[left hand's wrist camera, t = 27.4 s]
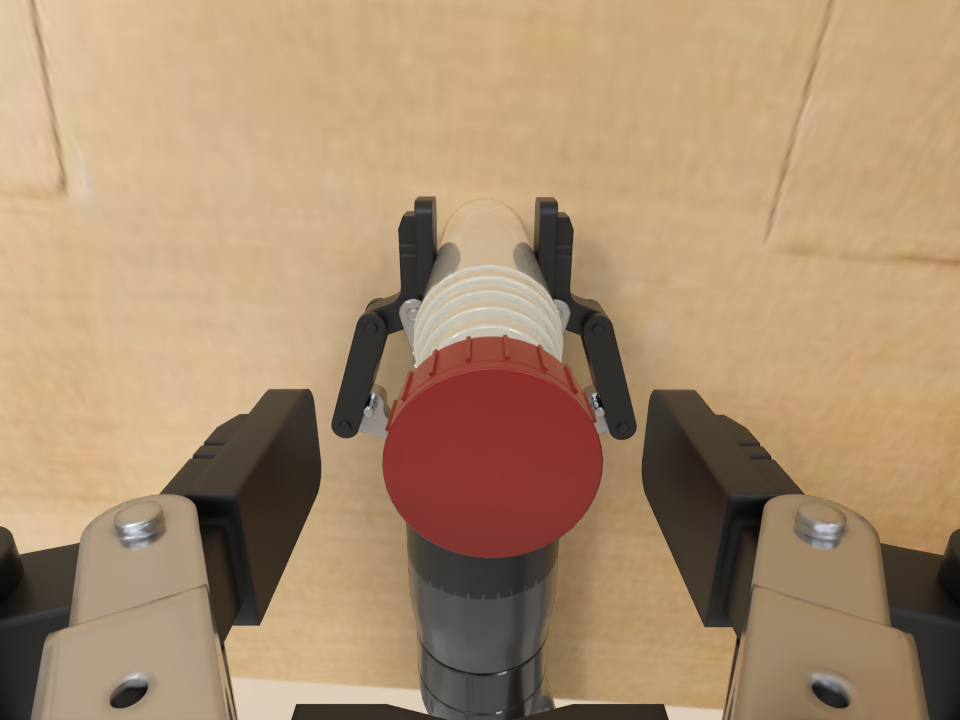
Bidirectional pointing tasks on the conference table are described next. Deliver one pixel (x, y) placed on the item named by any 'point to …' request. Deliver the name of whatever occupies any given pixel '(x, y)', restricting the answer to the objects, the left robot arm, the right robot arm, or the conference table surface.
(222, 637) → the left robot arm
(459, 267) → the bottle
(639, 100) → the conference table surface
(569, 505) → the cap
